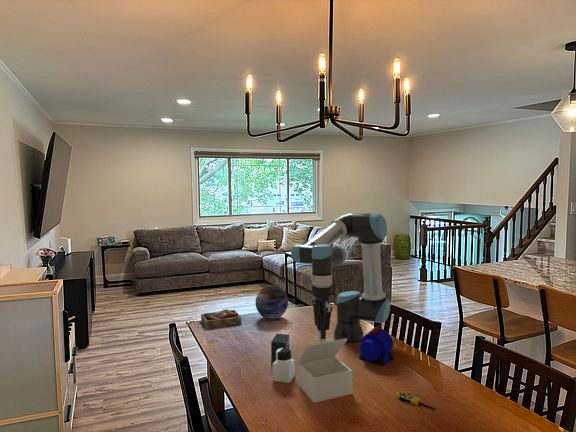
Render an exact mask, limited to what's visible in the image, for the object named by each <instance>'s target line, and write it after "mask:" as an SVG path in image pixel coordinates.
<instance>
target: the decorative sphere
mask: <svg viewBox="0 0 576 432" xmlns="http://www.w3.org/2000/svg"><path fill="white" fill-rule="evenodd" d="M288 303H289V298H288V295H287V293H286V291H285V290H284V289H283V288H282V287H280V286H279V285H276V284H267V285H265V286H263V287H262V288H260V289H259V291H258V292H257V294H256V297H255V308H256V310H257V312H258V313H259V315H260V316H261V317H263V318H264V319H267V320H270V321H271V320H272V321H273V320H277V319H279V318H281V317H282V316H283V315H284V314H285V313H286V311H287V309H288V306H289V304H288Z"/></svg>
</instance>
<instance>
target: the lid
mask: <svg viewBox="0 0 576 432" xmlns="http://www.w3.org/2000/svg"><path fill="white" fill-rule="evenodd" d="M346 341H347V338H346V339H340V340H336V339H335V340H330V341H329V340H328V341H326V342H322V343H318V342H317V343H312V344H306V346H305V348H304V349H303V351H302V352H301V355H300V356H299V358H298V359H297V361H296V363H297V364H298V363H302V362H308V361H313V360H319V359H324V358H330V357H336V356H337V355H338V353H339V352H340V351H341V349H342V348H343V347H344V345H345V344H346V343H347V342H346Z"/></svg>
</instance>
